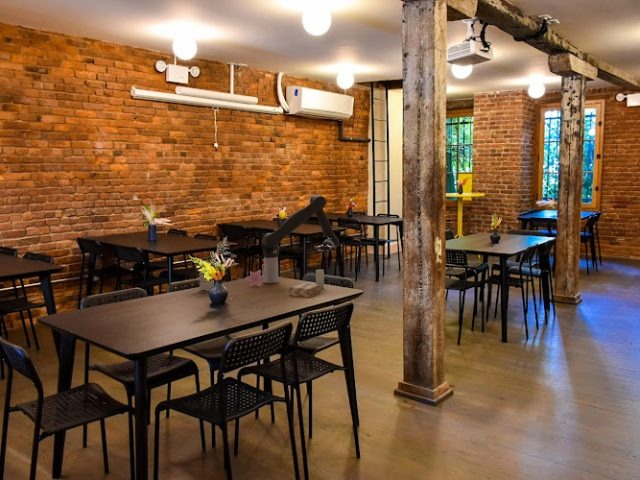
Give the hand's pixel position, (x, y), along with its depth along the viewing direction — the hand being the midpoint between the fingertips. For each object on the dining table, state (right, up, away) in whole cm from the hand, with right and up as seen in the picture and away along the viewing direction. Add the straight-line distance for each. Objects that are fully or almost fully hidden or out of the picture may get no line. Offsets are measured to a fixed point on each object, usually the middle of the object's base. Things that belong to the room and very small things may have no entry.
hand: (322, 249), depth 382 cm
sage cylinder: (-2, -25, -8) cm, 26 cm away
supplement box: (-72, -26, -4) cm, 77 cm away
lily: (-45, -24, +7) cm, 51 cm away
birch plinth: (-11, -27, -22) cm, 36 cm away
